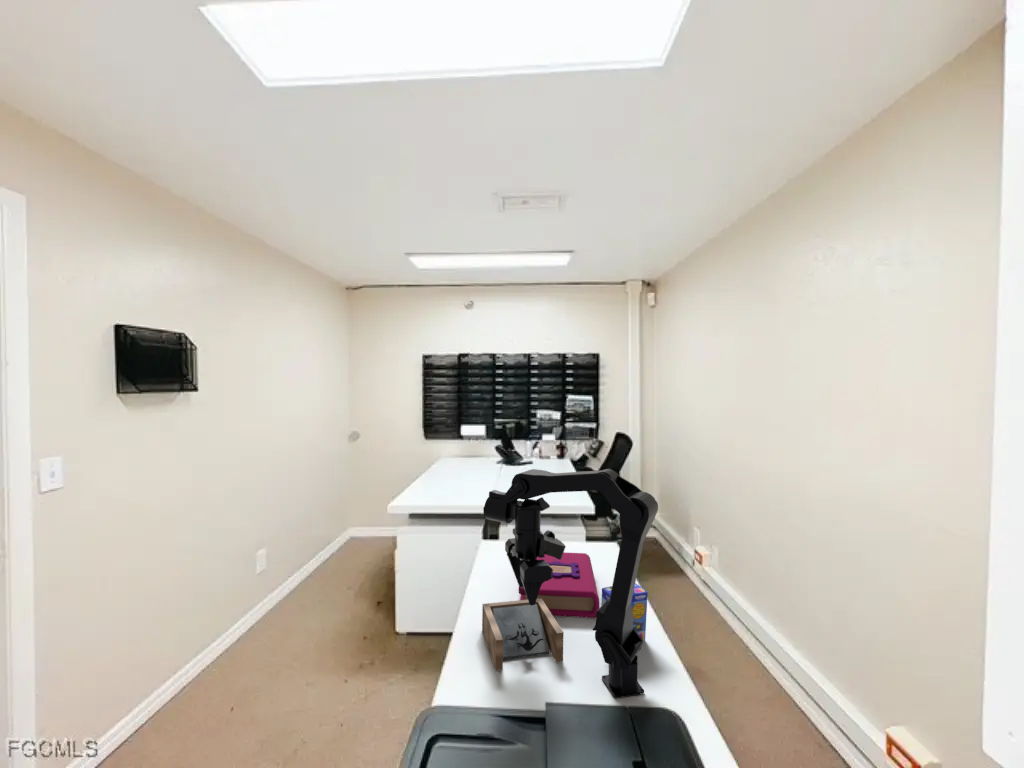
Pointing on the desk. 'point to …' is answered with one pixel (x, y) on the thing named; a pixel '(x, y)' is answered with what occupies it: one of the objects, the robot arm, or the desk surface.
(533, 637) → the trapdoor
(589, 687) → the desk surface
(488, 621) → the wooden stand
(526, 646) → the creature
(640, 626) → the ink cartridge box
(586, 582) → the book
